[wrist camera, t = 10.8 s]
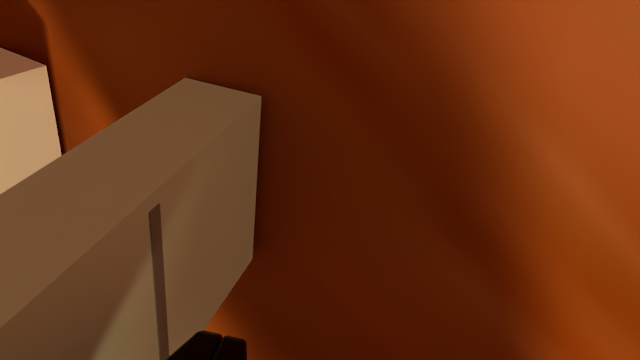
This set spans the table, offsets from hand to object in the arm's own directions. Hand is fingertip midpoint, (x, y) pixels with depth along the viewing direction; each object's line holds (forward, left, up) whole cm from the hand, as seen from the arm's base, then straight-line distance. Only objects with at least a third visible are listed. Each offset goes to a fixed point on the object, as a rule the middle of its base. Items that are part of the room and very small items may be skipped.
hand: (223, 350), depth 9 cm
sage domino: (0, +2, -6) cm, 6 cm away
